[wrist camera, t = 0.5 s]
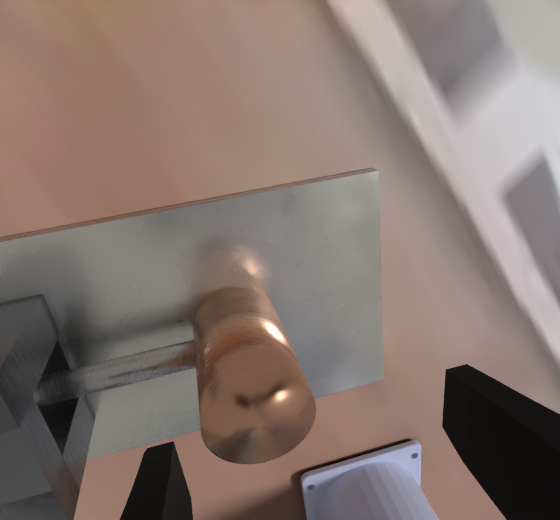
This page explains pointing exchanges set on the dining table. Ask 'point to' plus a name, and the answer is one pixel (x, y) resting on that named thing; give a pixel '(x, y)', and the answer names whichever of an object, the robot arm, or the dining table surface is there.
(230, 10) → the dining table surface
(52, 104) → the dining table surface
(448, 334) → the dining table surface
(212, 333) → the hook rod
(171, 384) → the grey plate
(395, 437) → the dining table surface
